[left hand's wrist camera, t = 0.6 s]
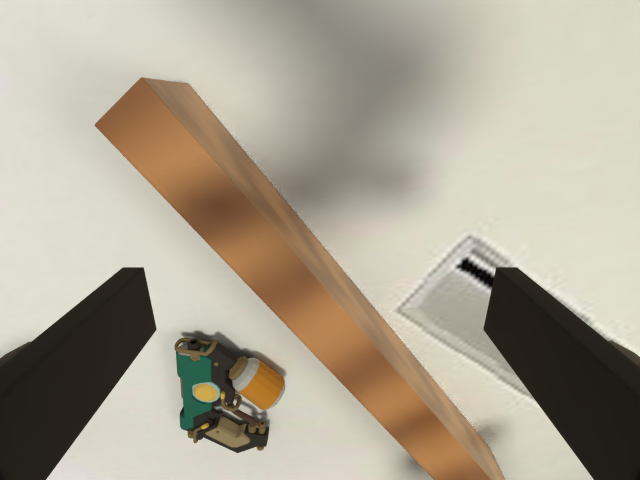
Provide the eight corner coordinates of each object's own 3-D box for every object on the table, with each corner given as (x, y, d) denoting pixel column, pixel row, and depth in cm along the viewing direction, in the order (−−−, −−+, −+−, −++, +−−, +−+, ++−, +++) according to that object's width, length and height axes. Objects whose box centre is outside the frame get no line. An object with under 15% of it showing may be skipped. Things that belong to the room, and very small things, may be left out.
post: (150, 119, 32) (93, 124, 24) (188, 83, 30) (141, 76, 23) (458, 462, 49) (484, 532, 41) (490, 448, 47) (523, 516, 40)
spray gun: (261, 442, 48) (159, 407, 47) (306, 363, 41) (188, 318, 40) (254, 474, 44) (142, 436, 43) (302, 391, 38) (171, 343, 36)
